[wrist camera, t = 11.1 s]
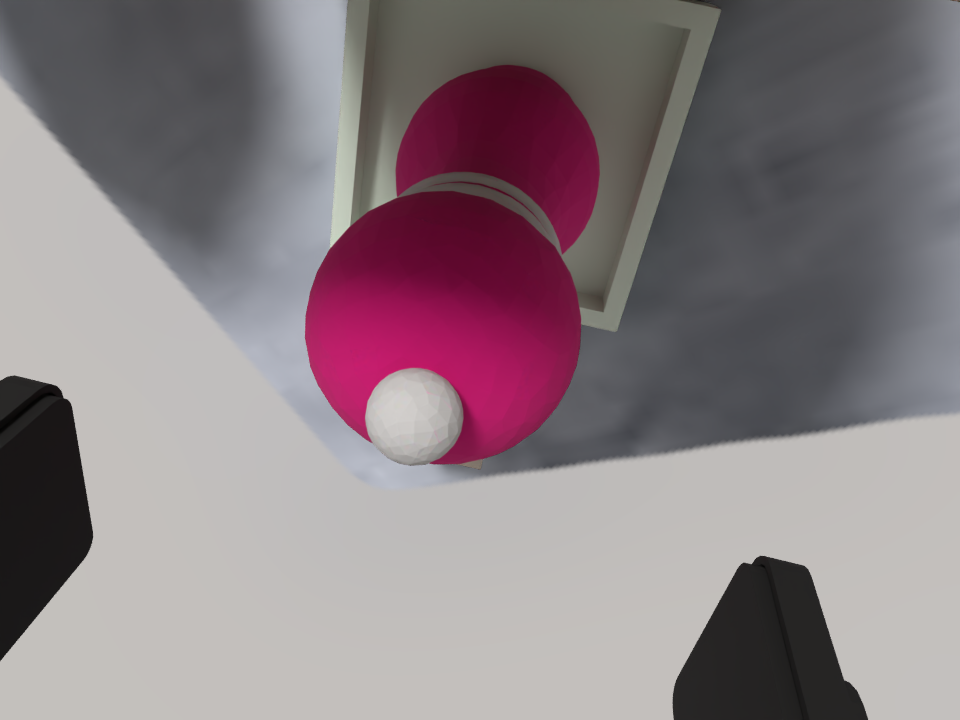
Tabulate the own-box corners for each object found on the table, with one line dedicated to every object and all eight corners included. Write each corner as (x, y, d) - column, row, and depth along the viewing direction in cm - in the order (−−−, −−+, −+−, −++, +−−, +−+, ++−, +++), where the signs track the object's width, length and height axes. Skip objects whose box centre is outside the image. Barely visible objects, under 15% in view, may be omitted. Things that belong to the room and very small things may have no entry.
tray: (710, 3, 27) (734, 16, 22) (576, 427, 37) (575, 490, 33) (371, -70, 27) (331, -70, 22) (334, 373, 37) (301, 429, 33)
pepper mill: (389, 162, 30) (139, 461, 13) (488, 8, 27) (321, 147, 10) (525, 260, 32) (458, 642, 15) (635, 127, 28) (714, 427, 11)
